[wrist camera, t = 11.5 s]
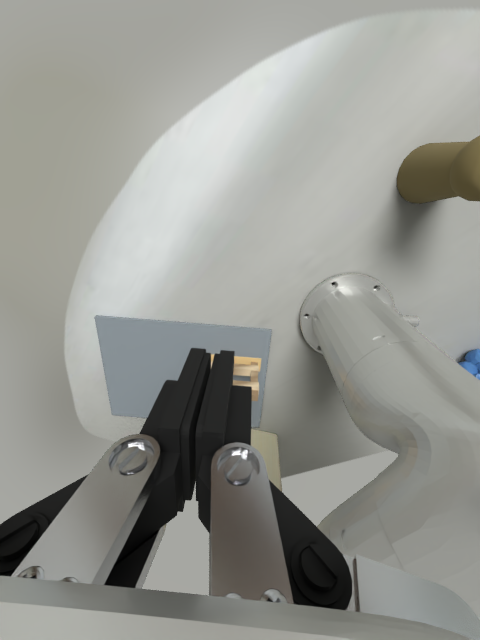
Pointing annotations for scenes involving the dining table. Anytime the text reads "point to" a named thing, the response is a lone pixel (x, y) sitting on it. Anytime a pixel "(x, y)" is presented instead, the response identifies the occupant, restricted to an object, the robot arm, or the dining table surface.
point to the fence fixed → (248, 371)
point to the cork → (441, 172)
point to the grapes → (472, 363)
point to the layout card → (169, 357)
